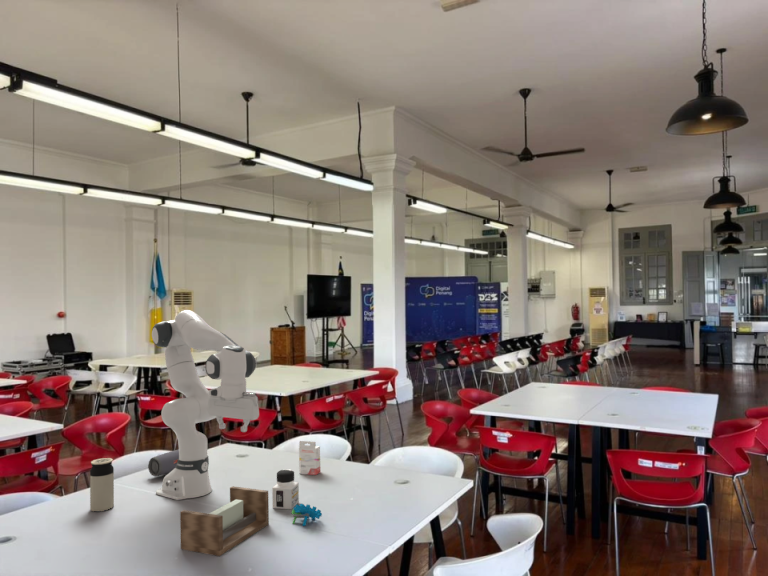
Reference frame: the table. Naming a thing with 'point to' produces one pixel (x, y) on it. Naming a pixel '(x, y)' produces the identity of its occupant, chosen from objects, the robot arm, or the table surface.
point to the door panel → (230, 513)
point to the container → (285, 490)
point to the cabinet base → (208, 528)
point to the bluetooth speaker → (163, 463)
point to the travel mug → (101, 485)
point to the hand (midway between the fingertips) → (232, 430)
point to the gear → (305, 513)
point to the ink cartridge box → (309, 458)
